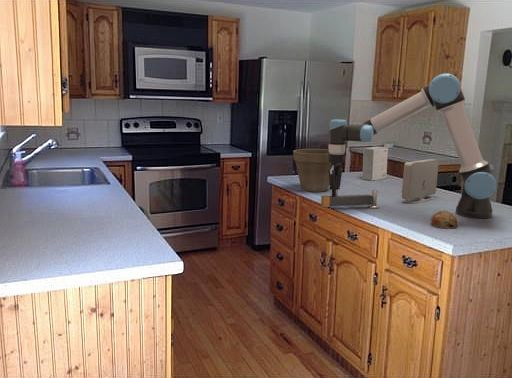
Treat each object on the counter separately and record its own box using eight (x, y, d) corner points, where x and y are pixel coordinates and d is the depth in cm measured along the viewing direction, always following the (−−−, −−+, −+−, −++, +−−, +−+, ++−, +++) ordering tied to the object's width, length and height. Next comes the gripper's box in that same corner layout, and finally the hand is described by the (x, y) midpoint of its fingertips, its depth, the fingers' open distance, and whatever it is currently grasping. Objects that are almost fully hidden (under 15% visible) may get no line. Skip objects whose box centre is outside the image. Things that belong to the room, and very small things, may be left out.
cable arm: (368, 203, 223) (369, 193, 222) (371, 204, 220) (372, 195, 219) (320, 205, 217) (321, 195, 216) (323, 206, 214) (323, 197, 213)
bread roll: (436, 237, 189) (444, 222, 184) (423, 220, 197) (430, 205, 192) (457, 235, 192) (465, 220, 187) (443, 219, 200) (450, 204, 195)
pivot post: (382, 208, 220) (383, 191, 218) (370, 208, 219) (371, 192, 217) (376, 205, 225) (378, 189, 224) (365, 205, 224) (366, 189, 223)
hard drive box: (376, 176, 305) (378, 146, 301) (386, 178, 299) (388, 147, 295) (361, 179, 295) (363, 147, 291) (371, 181, 289) (373, 149, 285)
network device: (411, 204, 228) (415, 164, 224) (396, 201, 235) (399, 162, 231) (439, 198, 244) (443, 160, 240) (424, 195, 251) (427, 158, 247)
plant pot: (282, 188, 263) (283, 150, 258) (312, 183, 279) (313, 147, 275) (316, 196, 244) (318, 154, 240) (345, 190, 261) (348, 151, 256)
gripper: (334, 151, 223) (331, 199, 228) (323, 154, 212) (321, 204, 217) (349, 152, 219) (346, 201, 224) (339, 155, 208) (336, 206, 213)
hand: (334, 203), depth 221 cm, fingers closed
